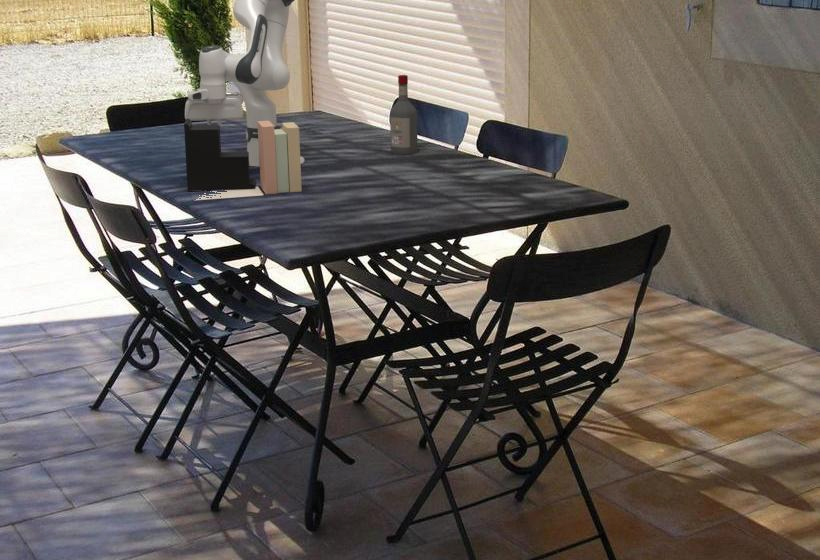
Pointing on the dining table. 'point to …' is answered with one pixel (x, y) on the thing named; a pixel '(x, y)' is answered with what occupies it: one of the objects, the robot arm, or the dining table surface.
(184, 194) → the dining table surface
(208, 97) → the robot arm
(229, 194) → the cream mat
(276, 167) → the book row
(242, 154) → the black drawer cabinet
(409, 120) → the liquor
